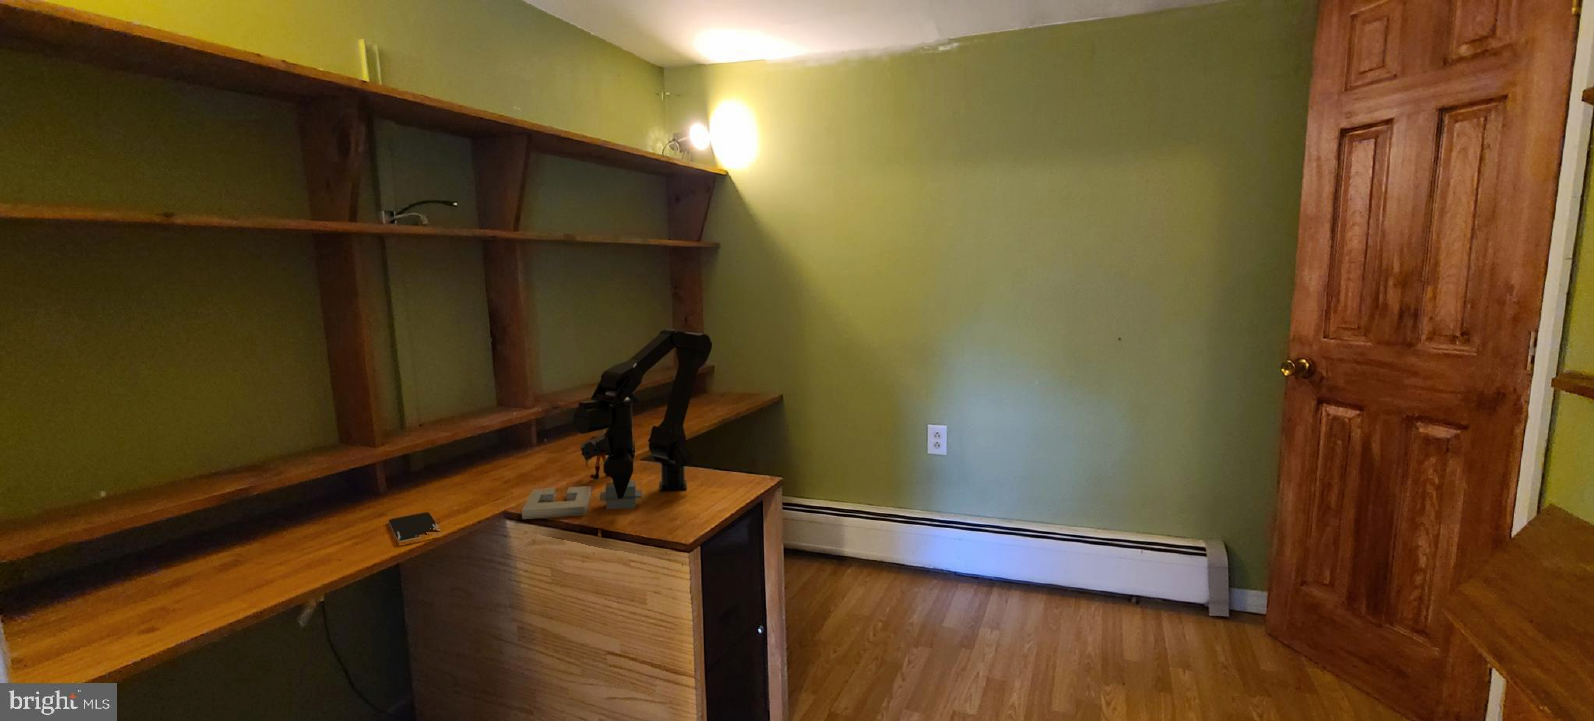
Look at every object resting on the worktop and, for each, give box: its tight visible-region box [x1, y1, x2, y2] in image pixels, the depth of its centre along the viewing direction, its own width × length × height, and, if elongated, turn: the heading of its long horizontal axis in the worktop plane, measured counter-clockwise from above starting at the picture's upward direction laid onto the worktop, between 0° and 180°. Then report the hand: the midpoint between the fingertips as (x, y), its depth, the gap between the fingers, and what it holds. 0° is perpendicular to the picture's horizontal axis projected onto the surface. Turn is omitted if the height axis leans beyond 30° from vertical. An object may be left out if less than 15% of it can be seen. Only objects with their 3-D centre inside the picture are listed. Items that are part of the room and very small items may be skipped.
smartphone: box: [388, 512, 442, 542], centre depth 138 cm, size 8×1×15 cm
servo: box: [599, 480, 643, 510], centre depth 155 cm, size 8×9×5 cm
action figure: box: [584, 429, 607, 479], centre depth 174 cm, size 10×4×15 cm, turn 129°
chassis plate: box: [521, 485, 592, 520], centre depth 153 cm, size 14×13×2 cm
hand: (621, 491), depth 153 cm, fingers open, 9 cm apart
